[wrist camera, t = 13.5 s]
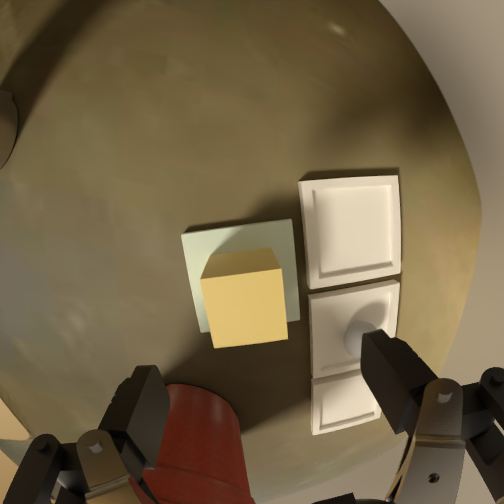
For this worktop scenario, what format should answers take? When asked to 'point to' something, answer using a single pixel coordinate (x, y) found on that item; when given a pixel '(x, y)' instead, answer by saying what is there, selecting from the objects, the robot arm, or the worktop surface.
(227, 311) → the letter block
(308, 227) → the dish
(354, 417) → the dish
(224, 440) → the flower pot
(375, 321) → the dish
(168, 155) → the worktop surface
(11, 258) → the worktop surface
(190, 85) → the worktop surface
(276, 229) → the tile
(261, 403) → the worktop surface
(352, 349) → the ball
